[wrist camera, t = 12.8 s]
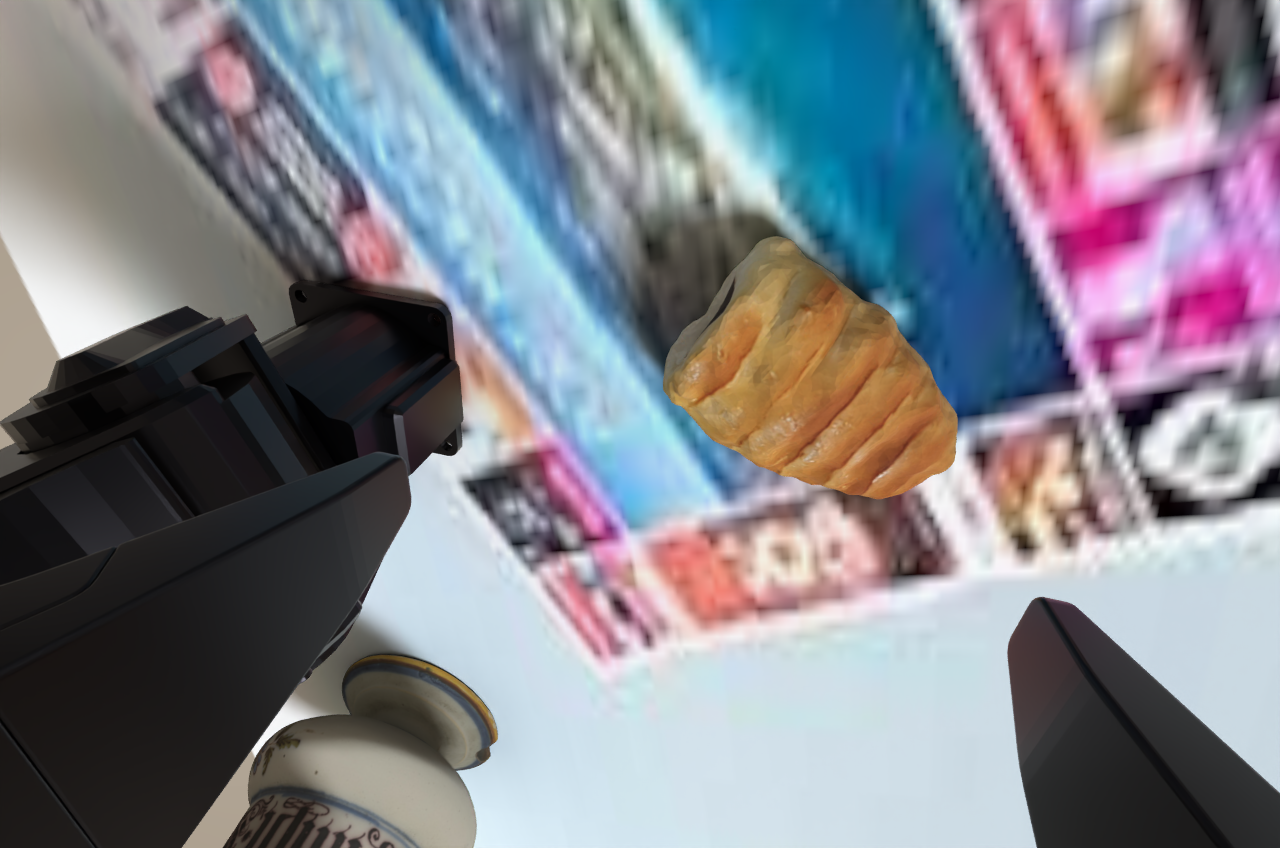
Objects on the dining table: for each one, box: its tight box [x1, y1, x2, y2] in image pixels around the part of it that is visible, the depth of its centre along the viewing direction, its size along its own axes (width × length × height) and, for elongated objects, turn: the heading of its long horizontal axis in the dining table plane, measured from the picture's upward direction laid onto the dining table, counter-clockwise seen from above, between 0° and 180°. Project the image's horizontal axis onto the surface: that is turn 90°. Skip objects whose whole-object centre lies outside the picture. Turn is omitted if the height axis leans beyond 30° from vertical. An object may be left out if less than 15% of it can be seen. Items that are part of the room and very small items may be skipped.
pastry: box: [663, 236, 958, 499], centre depth 20 cm, size 9×7×4 cm
